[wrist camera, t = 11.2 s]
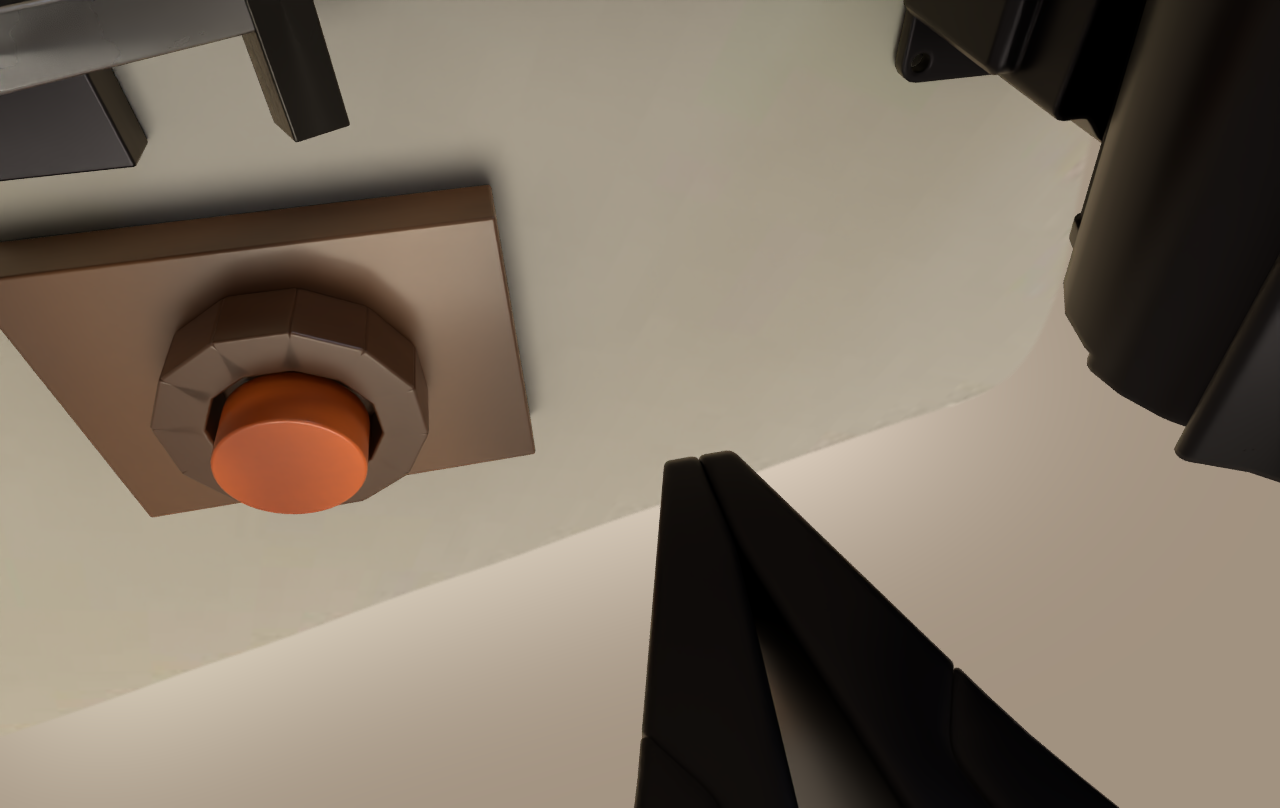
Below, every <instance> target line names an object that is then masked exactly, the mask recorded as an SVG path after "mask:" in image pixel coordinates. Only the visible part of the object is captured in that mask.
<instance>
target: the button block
mask: <svg viewBox="0 0 1280 808" xmlns="http://www.w3.org/2000/svg"><path fill="white" fill-rule="evenodd" d="M0 329H1V330H2V331H3V333H4V334H5V335H6V336H7V338H8V339H9V340H10V341H11V343H12V344H13V345H14V346H15V348H16V349H17V350H18V351H19V353H20V354H21V355H22V356H23V358H24V359H25V360H26V361H27V363H28V364H29V365H30V367H31V368H32V369H33V370H34V372H35V373H36V374H37V375H38V377H39V378H40V379H41V380H42V382H43V383H44V384H45V385H46V387H47V388H48V389H49V390H50V392H51V393H52V394H53V395H54V397H55V398H56V399H57V400H58V402H59V403H60V404H61V405H62V407H63V408H64V409H65V410H66V412H67V413H68V414H69V415H70V417H71V418H72V419H73V420H74V422H75V423H76V424H77V425H78V427H79V428H80V429H81V430H82V432H83V433H84V434H85V435H86V437H87V438H88V439H89V440H90V442H91V443H92V444H93V445H94V447H95V448H96V449H97V450H98V452H99V453H100V454H101V455H102V457H103V458H104V459H105V460H106V462H107V463H108V464H109V465H110V467H111V468H112V469H113V470H114V472H115V473H116V474H117V475H118V477H119V478H120V479H121V480H122V482H123V483H124V484H125V485H126V487H127V488H128V489H129V490H130V492H131V493H132V494H133V495H134V497H135V498H136V499H137V500H138V502H139V503H140V504H141V505H142V507H143V508H144V509H145V510H146V512H147V513H148V514H149V515H150V516H151V517H158V516H164V515H170V514H176V513H182V512H188V511H194V510H200V509H206V508H212V507H218V506H224V505H230V504H236V503H241V502H239V501H238V500H236V499H234V498H233V497H231V496H230V495H229V494H227V493H226V492H225V491H224V490H223V489H222V488H221V487H220V486H219V484H218V483H217V482H216V480H215V478H214V476H213V473H212V470H211V464H210V460H211V454H212V450H213V446H214V442H215V438H216V433H217V429H218V425H219V421H220V417H221V413H222V409H223V406H224V403H225V401H226V400H227V398H228V397H229V395H230V394H231V393H232V392H233V391H234V390H235V389H237V388H238V387H239V386H240V385H242V384H244V383H245V382H247V381H249V380H251V379H254V378H256V377H259V376H262V375H266V374H272V373H279V372H302V373H306V374H311V375H315V376H320V377H325V378H328V379H331V380H333V381H336V382H338V383H340V384H342V385H343V386H345V387H346V388H348V389H349V390H351V391H352V392H353V393H354V394H355V395H356V396H357V397H358V398H359V399H360V400H361V402H362V403H363V404H364V406H365V408H366V410H367V412H368V415H369V418H370V435H369V455H368V471H367V476H366V479H365V481H364V483H363V485H362V487H361V488H360V489H359V490H358V492H357V493H356V494H355V495H353V496H352V497H351V498H350V499H348V500H347V501H345V502H343V503H341V504H347V503H353V502H359V501H363V500H365V499H367V498H369V497H371V496H372V495H374V494H376V493H377V492H379V491H381V490H382V489H384V488H386V487H387V486H389V485H391V484H392V483H394V482H396V481H397V480H399V479H401V478H402V477H404V476H405V475H410V474H416V473H422V472H428V471H434V470H440V469H446V468H452V467H458V466H464V465H470V464H476V463H482V462H488V461H494V460H500V459H506V458H512V457H518V456H524V455H530V454H534V453H535V445H534V438H533V432H532V425H531V419H530V413H529V407H528V401H527V395H526V389H525V383H524V377H523V371H522V365H521V360H520V354H519V348H518V342H517V336H516V330H515V324H514V318H513V312H512V306H511V301H510V295H509V289H508V283H507V277H506V271H505V265H504V259H503V253H502V247H501V242H500V236H499V230H498V224H497V218H496V212H495V206H494V200H493V194H492V188H491V187H490V185H481V186H473V187H464V188H456V189H447V190H439V191H430V192H422V193H413V194H405V195H396V196H388V197H379V198H371V199H362V200H354V201H345V202H337V203H328V204H320V205H311V206H303V207H294V208H286V209H277V210H269V211H260V212H252V213H243V214H235V215H226V216H218V217H209V218H201V219H192V220H183V221H175V222H166V223H158V224H149V225H141V226H132V227H124V228H115V229H107V230H98V231H90V232H81V233H73V234H64V235H56V236H47V237H39V238H30V239H22V240H13V241H5V242H0ZM341 504H339V505H341Z"/></svg>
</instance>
